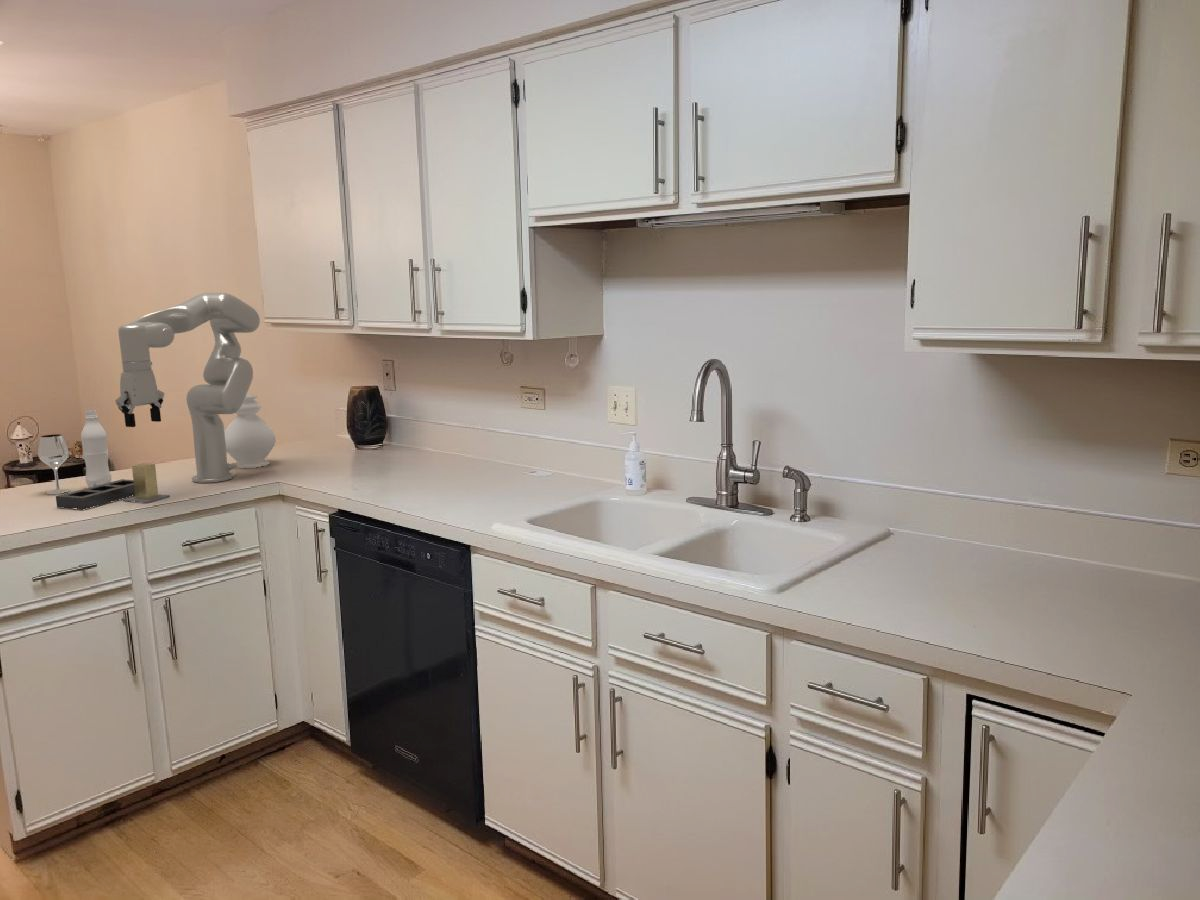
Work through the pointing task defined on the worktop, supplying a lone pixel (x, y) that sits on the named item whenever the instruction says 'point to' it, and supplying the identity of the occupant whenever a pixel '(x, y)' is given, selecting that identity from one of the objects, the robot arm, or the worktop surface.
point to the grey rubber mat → (147, 499)
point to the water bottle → (95, 451)
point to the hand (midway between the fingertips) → (143, 424)
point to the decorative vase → (249, 436)
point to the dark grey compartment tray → (96, 495)
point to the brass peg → (145, 481)
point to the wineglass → (53, 455)
